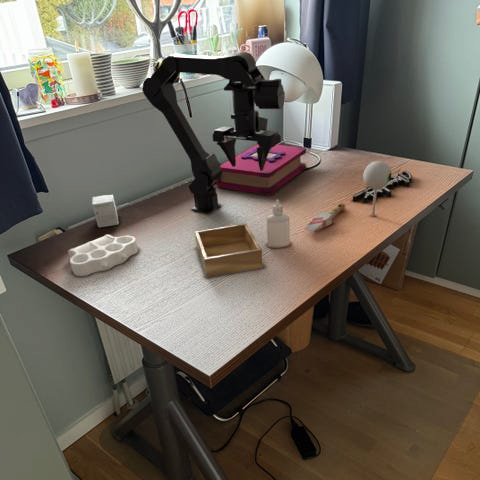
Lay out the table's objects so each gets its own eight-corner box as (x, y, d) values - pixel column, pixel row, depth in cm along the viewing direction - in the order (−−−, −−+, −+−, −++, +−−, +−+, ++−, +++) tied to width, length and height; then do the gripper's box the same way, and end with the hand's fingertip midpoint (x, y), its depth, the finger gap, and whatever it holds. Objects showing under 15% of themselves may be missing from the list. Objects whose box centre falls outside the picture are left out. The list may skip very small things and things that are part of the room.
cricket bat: (301, 223, 122) (336, 200, 135) (301, 233, 124) (336, 209, 137) (315, 226, 120) (349, 202, 133) (314, 236, 122) (348, 211, 135)
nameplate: (393, 168, 155) (422, 174, 149) (393, 173, 156) (421, 179, 150) (345, 194, 140) (375, 202, 134) (345, 199, 141) (374, 207, 135)
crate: (197, 248, 122) (194, 231, 119) (247, 239, 124) (246, 223, 121) (206, 277, 110) (204, 259, 107) (262, 267, 112) (261, 249, 109)
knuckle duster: (118, 238, 130) (148, 254, 121) (58, 263, 120) (86, 282, 111) (115, 227, 128) (146, 242, 119) (54, 251, 118) (82, 270, 109)
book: (214, 186, 157) (212, 164, 153) (256, 161, 176) (255, 140, 171) (269, 195, 148) (269, 171, 143) (307, 167, 166) (307, 145, 162)
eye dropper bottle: (285, 250, 118) (284, 205, 111) (265, 246, 120) (263, 202, 113) (291, 242, 121) (291, 198, 114) (272, 239, 123) (270, 195, 116)
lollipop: (381, 222, 127) (387, 167, 118) (355, 218, 130) (360, 164, 121) (389, 213, 131) (396, 159, 122) (364, 209, 135) (369, 156, 126)
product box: (97, 228, 137) (91, 204, 132) (98, 220, 141) (91, 196, 137) (119, 224, 137) (113, 201, 133) (118, 216, 142) (113, 193, 138)
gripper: (290, 103, 122) (290, 163, 132) (231, 100, 131) (236, 156, 140) (269, 113, 115) (271, 176, 124) (208, 109, 124) (214, 167, 133)
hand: (247, 168), depth 131 cm, fingers open, 9 cm apart
